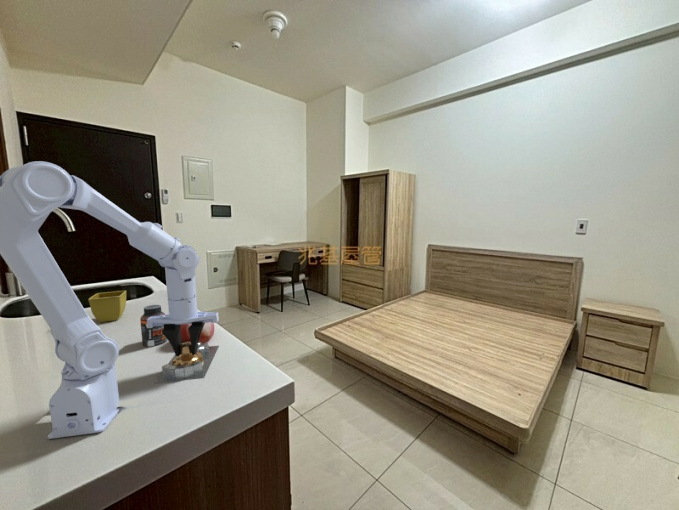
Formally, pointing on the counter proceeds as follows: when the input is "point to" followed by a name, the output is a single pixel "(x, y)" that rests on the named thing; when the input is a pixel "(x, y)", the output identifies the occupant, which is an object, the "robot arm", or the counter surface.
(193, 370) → the ring gear segment
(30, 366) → the counter surface
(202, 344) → the sun gear
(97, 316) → the flower pot
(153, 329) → the supplement bottle
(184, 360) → the planet gear
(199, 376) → the carrier plate
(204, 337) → the fruit
